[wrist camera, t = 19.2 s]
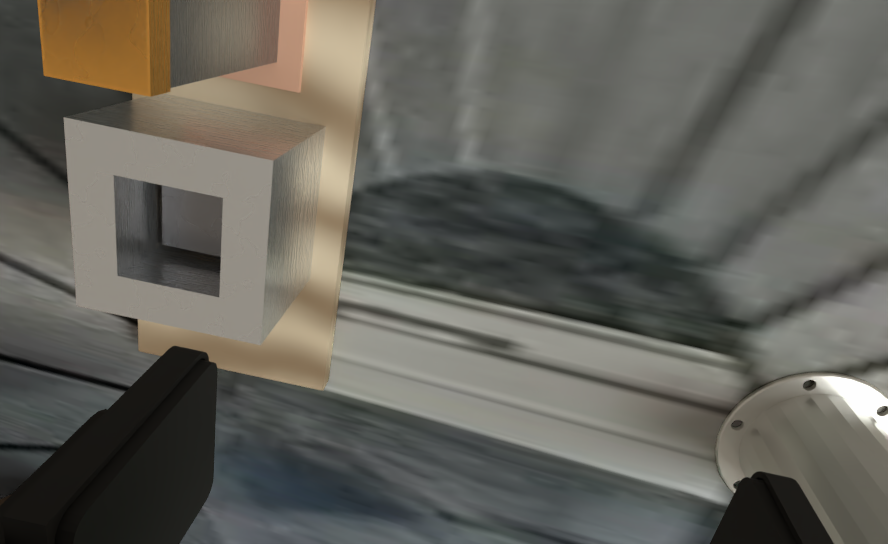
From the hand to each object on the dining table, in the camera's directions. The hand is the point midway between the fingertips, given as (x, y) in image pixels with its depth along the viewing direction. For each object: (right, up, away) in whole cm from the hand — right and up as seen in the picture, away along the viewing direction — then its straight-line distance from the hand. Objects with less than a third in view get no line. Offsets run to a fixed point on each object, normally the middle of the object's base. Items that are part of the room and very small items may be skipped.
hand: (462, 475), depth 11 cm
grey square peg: (-12, +18, +25) cm, 33 cm away
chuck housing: (-14, +9, +29) cm, 33 cm away
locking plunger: (-14, +7, +25) cm, 30 cm away
